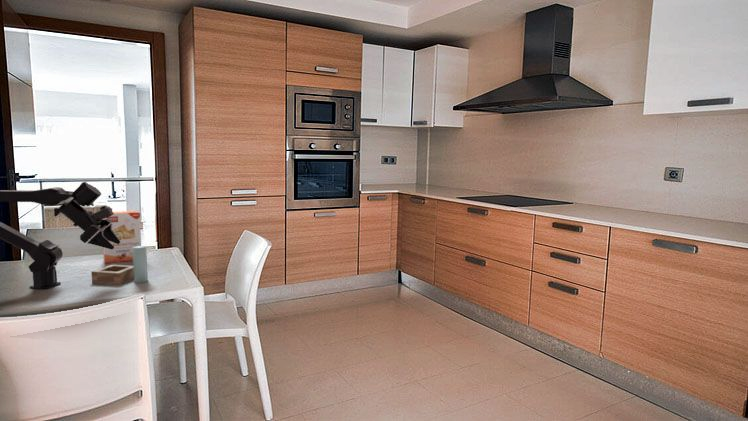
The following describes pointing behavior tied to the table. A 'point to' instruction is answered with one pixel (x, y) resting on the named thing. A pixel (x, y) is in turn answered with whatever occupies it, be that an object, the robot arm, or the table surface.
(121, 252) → the cracker box
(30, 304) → the table surface
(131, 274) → the socket base
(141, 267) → the column
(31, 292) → the table surface
